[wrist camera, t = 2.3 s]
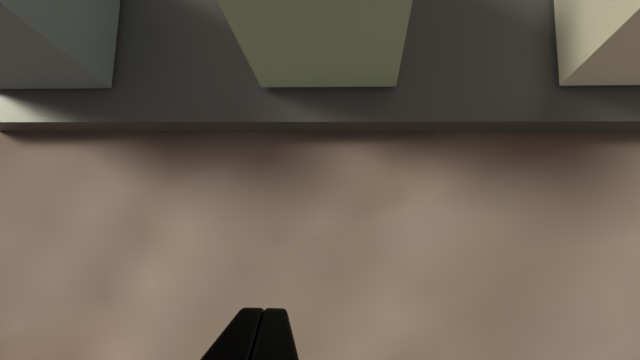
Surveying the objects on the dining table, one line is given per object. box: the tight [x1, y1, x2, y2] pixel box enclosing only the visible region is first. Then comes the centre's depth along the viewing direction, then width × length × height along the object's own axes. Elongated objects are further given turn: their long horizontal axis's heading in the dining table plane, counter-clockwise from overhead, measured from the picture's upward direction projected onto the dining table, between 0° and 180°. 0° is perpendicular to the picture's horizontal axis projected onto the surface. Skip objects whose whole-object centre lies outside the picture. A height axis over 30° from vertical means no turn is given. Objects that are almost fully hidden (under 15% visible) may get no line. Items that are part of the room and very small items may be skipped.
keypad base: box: [0, 0, 640, 131], centre depth 25 cm, size 12×33×2 cm, turn 89°
